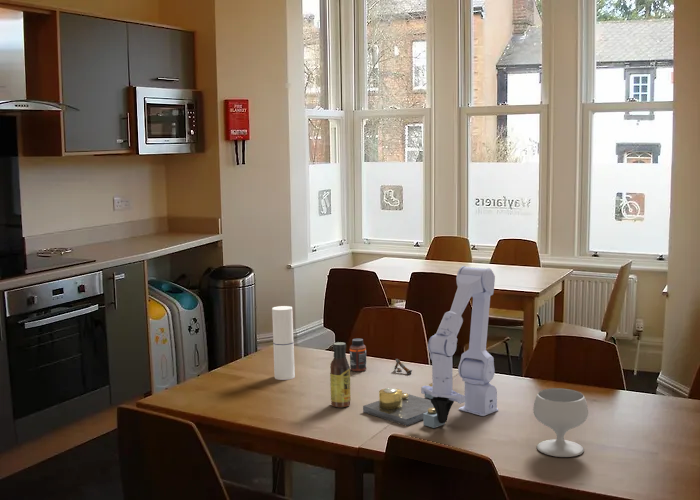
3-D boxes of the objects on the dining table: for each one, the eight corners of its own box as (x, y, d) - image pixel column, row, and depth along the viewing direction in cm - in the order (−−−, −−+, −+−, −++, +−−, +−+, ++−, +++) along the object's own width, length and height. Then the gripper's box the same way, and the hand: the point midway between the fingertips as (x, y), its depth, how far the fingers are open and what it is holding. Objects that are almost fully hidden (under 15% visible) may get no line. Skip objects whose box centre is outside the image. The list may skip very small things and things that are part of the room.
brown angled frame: (395, 366, 293) (398, 356, 291) (408, 379, 288) (412, 369, 286) (391, 367, 292) (394, 357, 290) (405, 380, 287) (408, 370, 285)
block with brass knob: (445, 423, 234) (445, 409, 233) (433, 428, 230) (433, 413, 230) (434, 420, 237) (434, 406, 236) (423, 424, 233) (423, 410, 233)
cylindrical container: (271, 379, 284) (268, 309, 281) (279, 373, 291) (276, 305, 288) (290, 380, 282) (288, 310, 279) (297, 374, 289) (295, 306, 285)
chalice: (578, 439, 220) (578, 385, 218) (595, 458, 206) (596, 402, 204) (527, 441, 219) (527, 387, 217) (541, 460, 205) (541, 404, 203)
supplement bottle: (369, 368, 294) (369, 338, 293) (361, 372, 289) (360, 342, 288) (355, 366, 297) (355, 336, 296) (347, 370, 292) (346, 340, 291)
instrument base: (446, 411, 246) (446, 387, 245) (406, 425, 233) (406, 401, 232) (403, 398, 258) (402, 376, 258) (363, 412, 246) (362, 389, 245)
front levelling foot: (444, 397, 258) (444, 384, 257) (436, 400, 255) (436, 387, 255) (432, 394, 262) (432, 381, 261) (424, 397, 259) (424, 383, 258)
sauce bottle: (348, 409, 250) (347, 346, 247) (328, 408, 251) (327, 345, 248) (352, 402, 256) (351, 341, 253) (333, 401, 257) (331, 340, 255)
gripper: (413, 374, 232) (414, 419, 233) (453, 384, 221) (453, 431, 223) (429, 369, 237) (430, 413, 238) (469, 378, 226) (469, 425, 228)
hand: (442, 422), depth 231 cm, fingers closed
